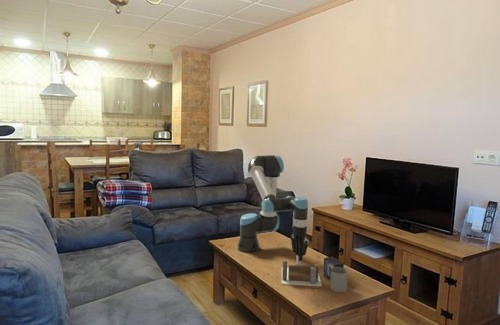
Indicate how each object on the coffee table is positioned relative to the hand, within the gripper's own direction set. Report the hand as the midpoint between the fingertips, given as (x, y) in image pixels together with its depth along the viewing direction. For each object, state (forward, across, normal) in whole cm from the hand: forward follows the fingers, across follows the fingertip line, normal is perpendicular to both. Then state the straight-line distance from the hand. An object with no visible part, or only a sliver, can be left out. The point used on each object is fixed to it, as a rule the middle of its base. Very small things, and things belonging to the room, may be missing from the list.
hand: (298, 265), depth 198 cm
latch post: (+6, +12, -1) cm, 13 cm away
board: (+6, +2, 0) cm, 6 cm away
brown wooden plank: (+5, +6, -3) cm, 9 cm away
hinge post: (+6, -1, -10) cm, 12 cm away
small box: (+6, +14, +13) cm, 20 cm away
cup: (+6, +23, +5) cm, 25 cm away
